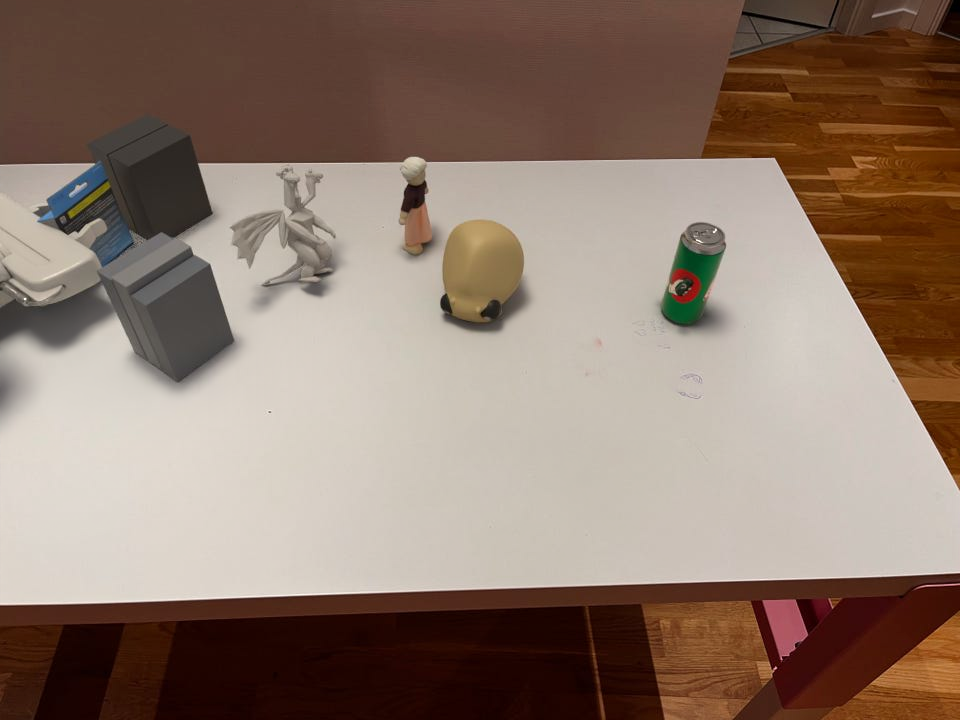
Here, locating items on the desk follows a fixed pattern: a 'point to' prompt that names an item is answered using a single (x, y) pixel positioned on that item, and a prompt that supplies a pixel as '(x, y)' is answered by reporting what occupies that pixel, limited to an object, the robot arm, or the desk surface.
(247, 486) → the desk surface
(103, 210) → the blue retail box
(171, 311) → the grey upright block
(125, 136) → the dark grey block
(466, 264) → the tan toy animal
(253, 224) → the dragon figurine
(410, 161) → the grandmother figurine
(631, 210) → the desk surface
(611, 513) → the desk surface
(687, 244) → the soda can
